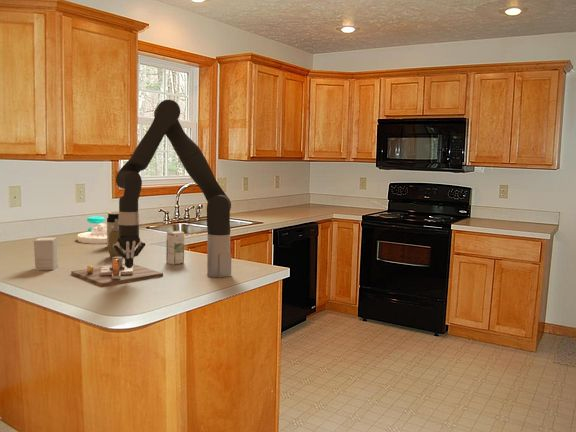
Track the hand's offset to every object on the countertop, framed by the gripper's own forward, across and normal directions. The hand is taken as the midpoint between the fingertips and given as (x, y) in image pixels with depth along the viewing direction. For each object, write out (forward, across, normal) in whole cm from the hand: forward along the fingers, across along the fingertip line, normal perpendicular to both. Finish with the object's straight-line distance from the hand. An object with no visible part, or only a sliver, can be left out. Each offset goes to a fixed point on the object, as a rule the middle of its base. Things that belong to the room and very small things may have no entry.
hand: (128, 267), depth 200 cm
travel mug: (+6, -22, -75) cm, 78 cm away
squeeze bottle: (+5, -13, -47) cm, 49 cm away
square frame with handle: (+4, +2, -8) cm, 9 cm away
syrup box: (+5, -30, -20) cm, 36 cm away
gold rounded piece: (+4, +10, -14) cm, 18 cm away
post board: (+5, 0, -11) cm, 12 cm away
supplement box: (+6, +20, -39) cm, 44 cm away
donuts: (+6, -29, -124) cm, 128 cm away
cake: (+6, -25, -100) cm, 103 cm away
